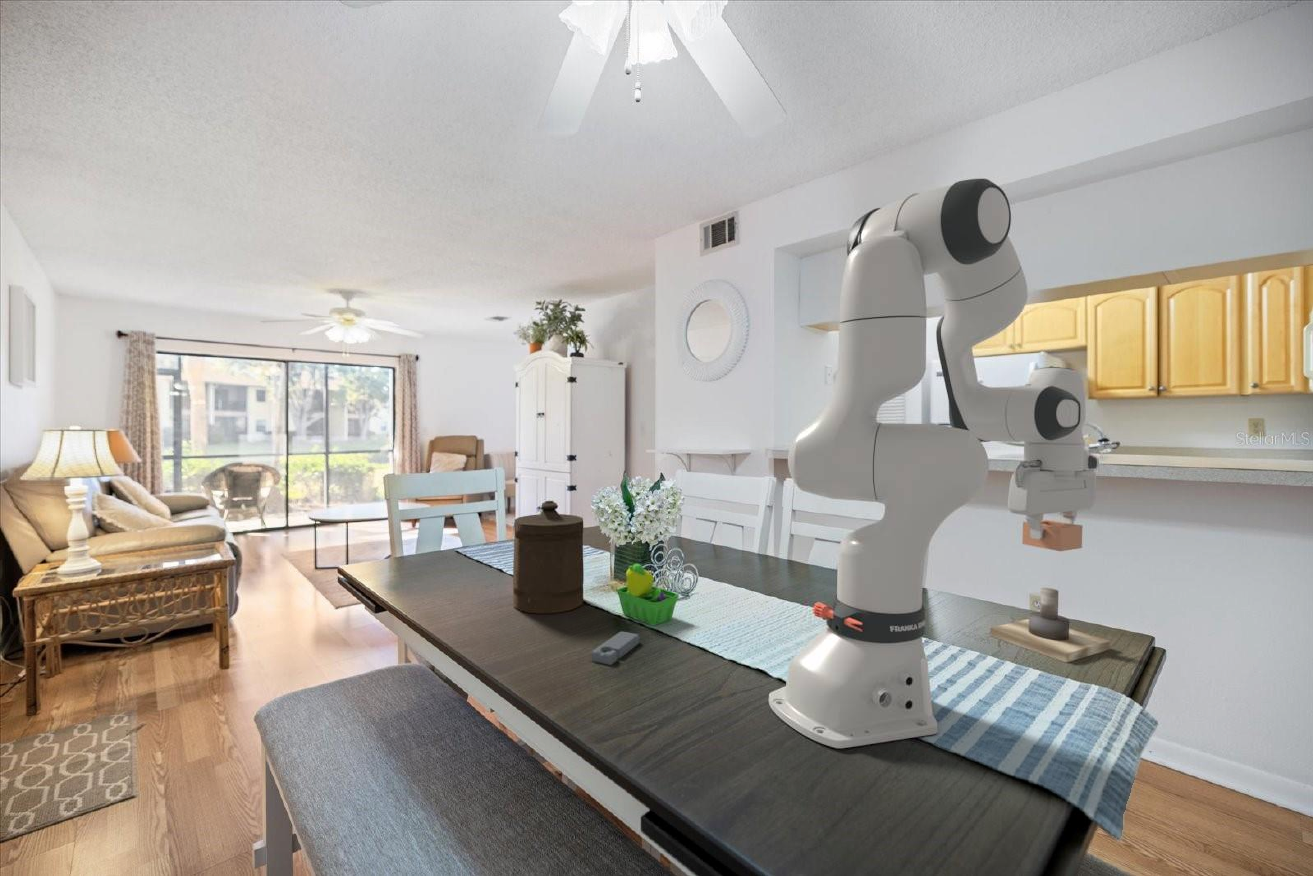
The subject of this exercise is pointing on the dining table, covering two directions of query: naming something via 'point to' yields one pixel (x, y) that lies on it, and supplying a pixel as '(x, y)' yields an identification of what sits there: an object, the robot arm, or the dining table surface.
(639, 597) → the fruit basket
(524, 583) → the wooden container
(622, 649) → the bracket
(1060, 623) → the pin stand
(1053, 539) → the orange square ring
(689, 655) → the dining table surface
